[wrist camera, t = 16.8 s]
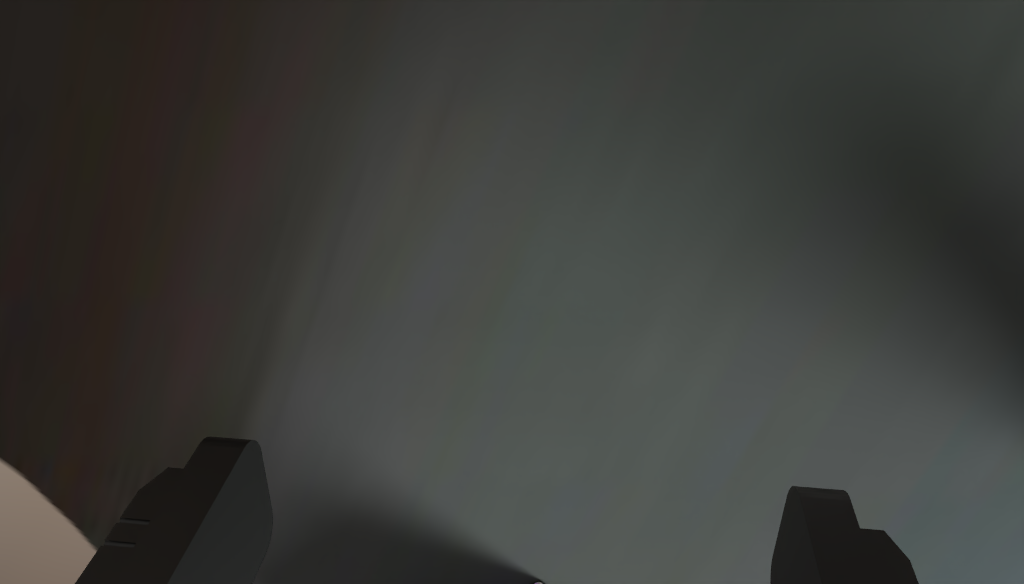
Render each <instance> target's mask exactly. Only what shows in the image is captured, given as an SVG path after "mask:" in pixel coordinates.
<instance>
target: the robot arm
mask: <svg viewBox="0 0 1024 584" xmlns="http://www.w3.org/2000/svg"><path fill="white" fill-rule="evenodd" d="M272 524H273V513H272V507H271V501H270V496H269V490H268V485H267V479H266V474H265V469H264V463H263V458H262V452H261V448H260V446H259V444H258V442H257V441H255V440H244V439H232V438H220V437H206V438H205V439H203V440H202V441H201V443H200V444H199V446H198V447H197V449H196V450H195V452H194V453H193V455H192V457H191V458H190V460H189V461H188V463H187V464H186V466H185V467H184V469H181V468H169V467H168V468H167V469H166V470H164V471H163V472H162V473H161V474H159V475H158V476H157V477H155V478H154V479H153V480H152V481H150V482H149V483H148V484H146V485H145V486H144V487H142V488H141V489H140V490H139V491H138V492H137V494H136V495H135V497H134V498H133V500H132V501H131V503H130V504H129V506H128V507H127V508H126V510H125V511H124V513H123V514H122V516H121V517H120V522H119V523H116V524H115V526H114V527H113V529H112V530H111V532H110V533H109V535H108V536H107V538H106V539H105V544H104V546H100V548H99V549H98V551H97V552H96V554H95V555H94V557H93V558H92V560H91V561H90V562H89V564H88V565H87V567H86V568H85V570H84V571H83V573H82V574H81V576H80V577H79V579H78V580H77V582H76V583H75V584H252V582H253V580H254V578H255V576H256V574H257V572H258V570H259V567H260V565H261V563H262V561H263V559H264V557H265V554H266V552H267V549H268V546H269V543H270V538H271V533H272ZM771 584H919V583H918V581H917V578H916V575H915V573H914V570H913V568H912V565H911V562H910V560H909V559H908V558H907V557H906V555H905V554H904V553H903V552H902V551H901V550H900V548H899V547H898V546H897V545H896V544H895V543H894V542H893V540H892V539H891V538H890V537H889V536H888V535H887V534H886V532H885V531H883V530H872V529H860V527H859V524H858V521H857V518H856V515H855V512H854V509H853V506H852V503H851V500H850V497H849V495H848V493H847V492H846V491H844V490H834V489H822V488H809V487H797V486H792V487H791V488H790V490H789V492H788V495H787V499H786V503H785V507H784V511H783V516H782V520H781V524H780V528H779V532H778V537H777V541H776V545H775V549H774V553H773V558H772V564H771Z"/></svg>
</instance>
